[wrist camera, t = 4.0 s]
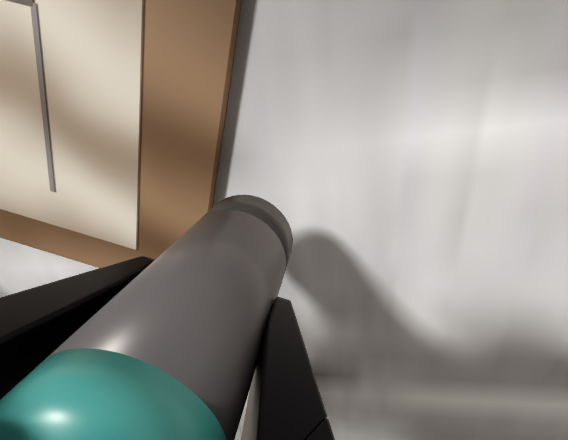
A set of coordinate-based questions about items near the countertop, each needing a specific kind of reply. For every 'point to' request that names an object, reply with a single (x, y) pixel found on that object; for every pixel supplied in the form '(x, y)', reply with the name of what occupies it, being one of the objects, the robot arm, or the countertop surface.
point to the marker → (166, 340)
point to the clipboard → (111, 122)
